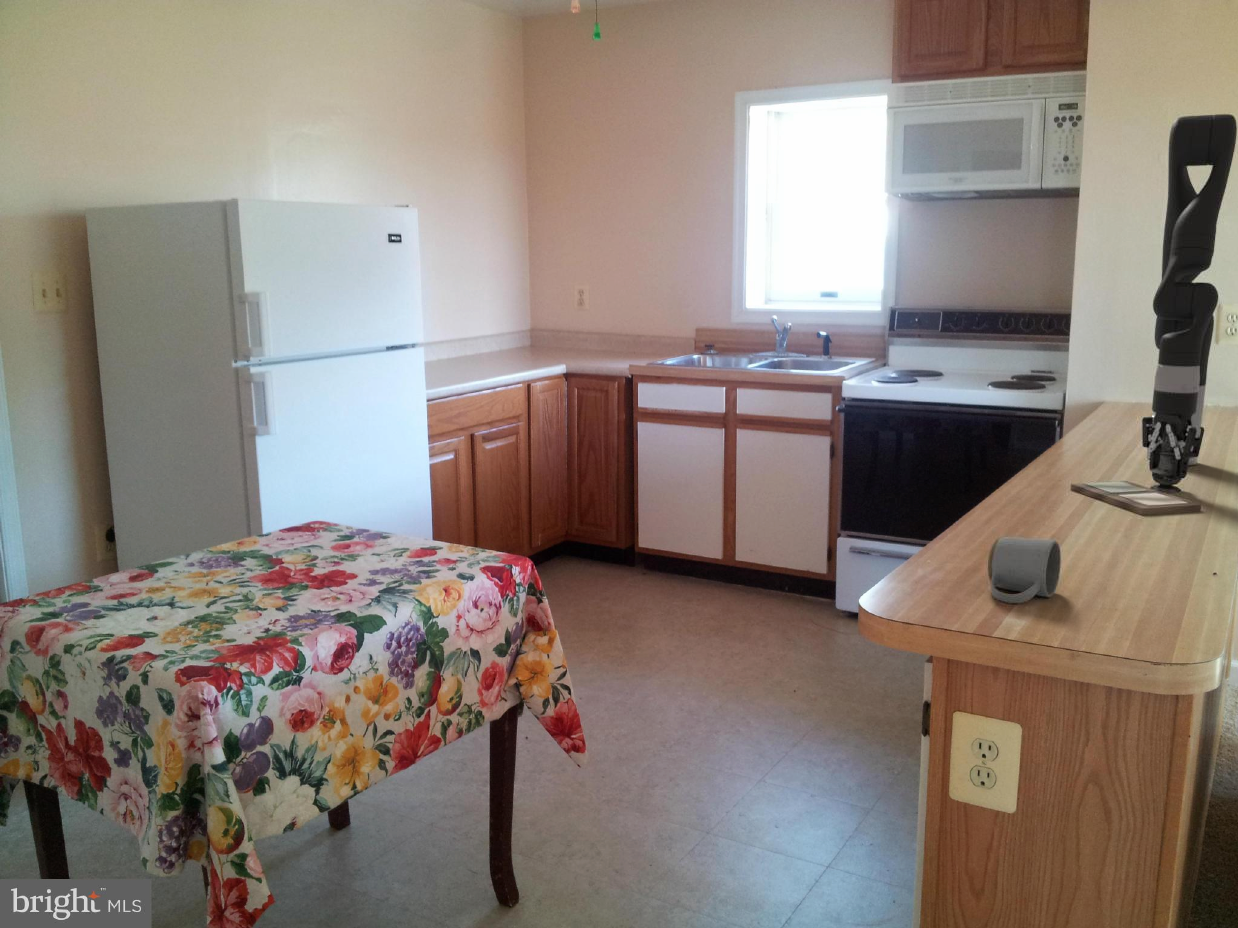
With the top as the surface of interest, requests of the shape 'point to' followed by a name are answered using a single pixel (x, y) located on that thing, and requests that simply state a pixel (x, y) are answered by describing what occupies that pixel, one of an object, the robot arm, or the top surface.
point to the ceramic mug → (1024, 568)
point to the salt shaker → (1166, 469)
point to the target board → (1135, 497)
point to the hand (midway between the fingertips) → (1167, 474)
